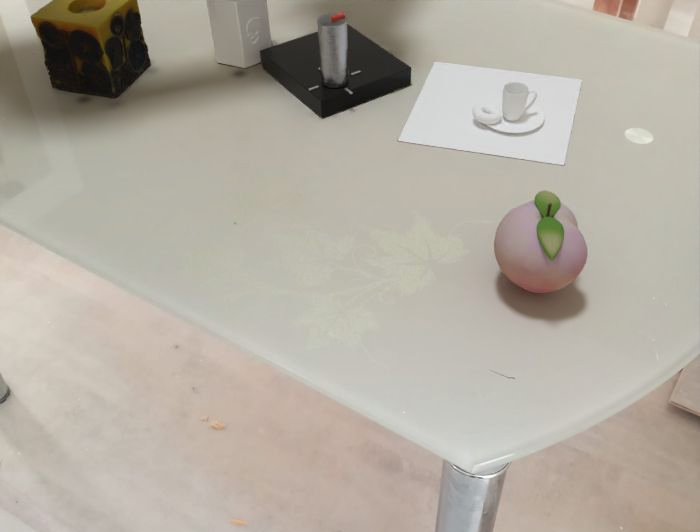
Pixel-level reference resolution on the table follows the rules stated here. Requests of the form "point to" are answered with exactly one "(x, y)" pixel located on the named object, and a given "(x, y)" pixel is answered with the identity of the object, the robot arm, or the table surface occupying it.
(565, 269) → the decorative fruit
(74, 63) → the candle
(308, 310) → the table surface
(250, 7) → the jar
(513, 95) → the teacup and saucer
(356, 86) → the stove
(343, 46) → the silver cylinder
